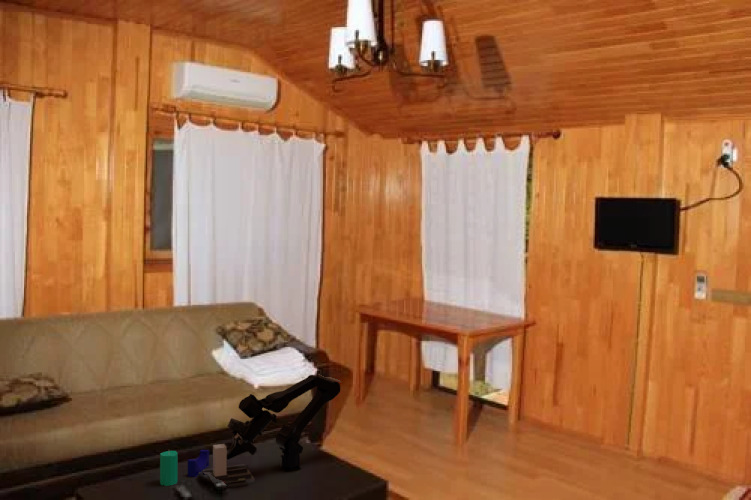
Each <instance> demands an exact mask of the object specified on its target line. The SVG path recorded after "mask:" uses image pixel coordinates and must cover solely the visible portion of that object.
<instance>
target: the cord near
mask: <svg viewBox="0 0 751 500" xmlns="http://www.w3.org/2000/svg"><path fill="white" fill-rule="evenodd" d="M248 484H249V483H248V482H240V483H234V484H229V486H228V488H236V487H238V488H239V487H243V486H248Z"/></svg>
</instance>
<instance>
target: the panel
mask: <svg viewBox="0 0 751 500" xmlns="http://www.w3.org/2000/svg"><path fill="white" fill-rule="evenodd" d="M210 473H213V472H210ZM226 473H227V474H228V477H221V478H216V479H219V480H222V481H223V482H224V483H225V484H226V485H227V486H226V487H229V484H234V483H240V482H248V484H251V483H253V484H254V483H255V477H254V476H253V474H252V473H251V472H250V470H249V468H248V469H247V467H246V468H239V469H232V470H226Z"/></svg>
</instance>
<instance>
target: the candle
mask: <svg viewBox="0 0 751 500" xmlns="http://www.w3.org/2000/svg"><path fill="white" fill-rule="evenodd" d="M178 454H179V453H178V452H177V451H176V450H168V451H167V450H166V451H163V452H161V453H160V454H159V462H160V463H159V484H160V485H161V486H163V485H164V486H165V487H169V486H170V485H171V486H173V485H174V484H175V485H176V484H178V475H179V474H178V473H179V471H178V469H179V468H178V467H179V466H178V463H179V461H178V459H179V458H178Z"/></svg>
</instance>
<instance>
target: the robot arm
mask: <svg viewBox="0 0 751 500" xmlns="http://www.w3.org/2000/svg"><path fill="white" fill-rule="evenodd" d="M314 388H316V391H315V395H314V397H313V398H312V399H311V400H310V401H309V402H308V403H307V405H306V406H305V407H304V409H302V411H301V412H300V413H299V415H298V416H297V417H296V418H295V420H293V422H292V423H291V424H289V425H287V424H283V425H282V426H281V428H280V429H279V430H278V431H277V434H276V435H275V444H276V445H277V446H278V448H279V450H282V451H281V454H280V456H279V466H280V468H281V469H282V470H283V471H284V472H288V471H295V470H301V469H302V467H301V466H300V465H301V464H300V463H301V460H300V459H301V458H300V457H301V455H300V454H302V453H303V450H304V447H303V445H301V444H300V443H299V442H300V441H301V437H302V433H303V431H304V430H305V429H306V427H307V426H308V425H310V424H311V421H312V420H313V419H314V418H315V416H316V415H317V414H318V413H319V411H320V410H321V409H322V408H323V407H324V406H325V404H326V403H328V402H330V401H333V400H334V399H335V398H336V397H337V396H338V395H339V394H340V392H341V384H340V382H339V381H337V380H334V379H331V378H323V377H320V376H318V375H315V374H309V375H308V376H307V377H305V378H303V379H302V380H300V381H299V382H296V383H295V384H293V385H291V386H290V387H288V388H286V389H284V390H280V391H275V392H273V393H269V394H267V395H265V397H264V398H260V399H258V398H257V397H256V395H254V394H252V393H249V395H247V396H246V397H244V398H243V399H241V400H240V402H239V403H238V409H239V410H240V412H242V413H243V414H244V415H246V416H247V417H248V418H249V419H250V420H246V421H245V422H243V421H241V420H237V419H234V418H230V420H229V422H228V424H227V428H228V429H229V431H230V433H232V434H234V435H232V443H231V446H230V448H229V449H228V452H227V460H228V461H229V460H230V459H233V458H235V457H237V456H239V455H242V454H244V453H249V454H250V455H251V456H254V455H255V454H256V453H257V451H258V450H257V447H256V445H255V442H254V441H255V439H257V437H258V436H262V435H263V433H262V432H263V430H265V428H266V427H268V425H269V424H270V423H271V422H273V423H274V424H277V423H278V422H277V421H278V420H277V415H276V414H279V413H281V412H282V411H283V410H285V409H286V408H288V405H289V404H290V403H291V402H292V401H293V400H295V399H297V398H299V397H301V396H302V395H304V394H306V393H307V392H309V391H311V390H312V389H314ZM263 409H264V410H263ZM271 412H273V413H271Z"/></svg>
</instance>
